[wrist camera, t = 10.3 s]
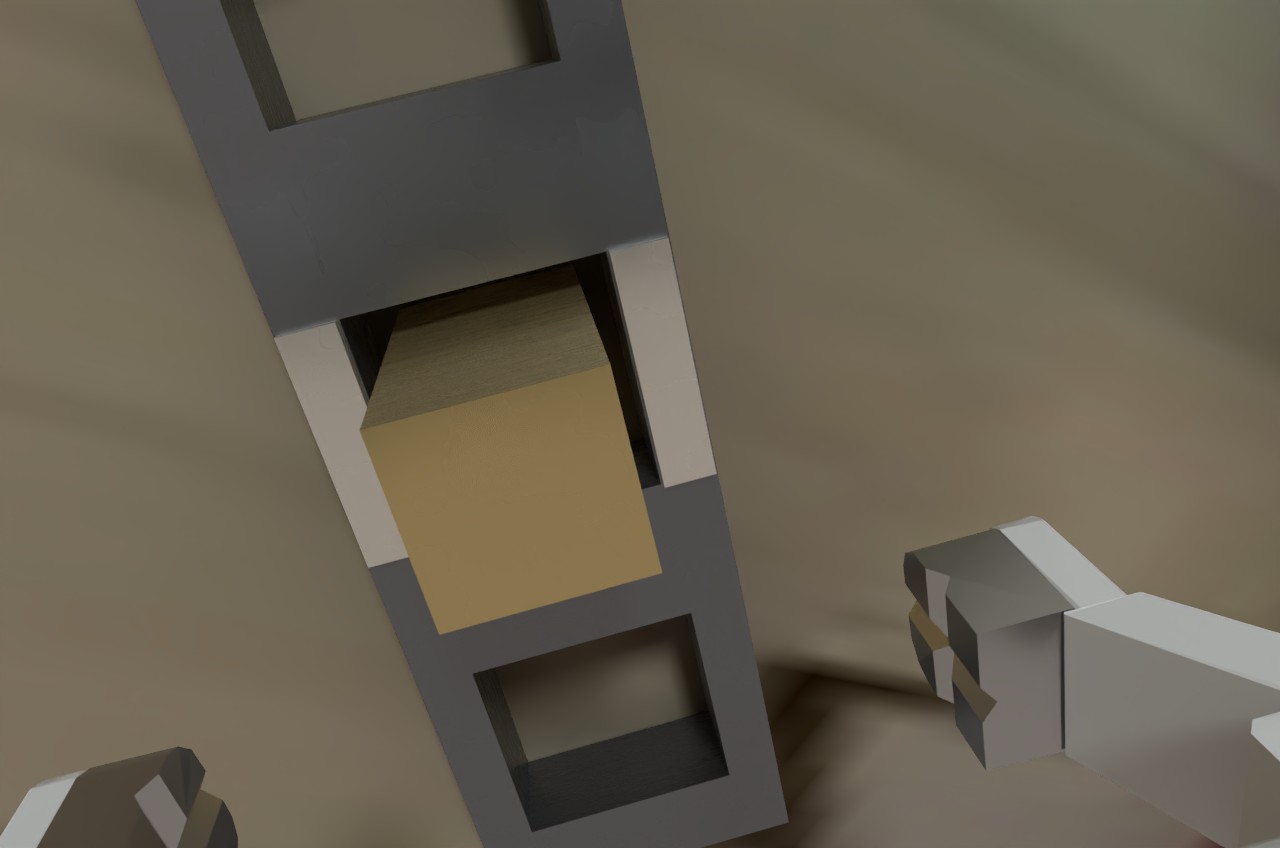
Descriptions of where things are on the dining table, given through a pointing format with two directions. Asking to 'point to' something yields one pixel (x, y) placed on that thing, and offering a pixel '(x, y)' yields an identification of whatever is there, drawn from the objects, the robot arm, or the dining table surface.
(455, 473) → the block
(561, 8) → the grey slotted tray
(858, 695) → the dining table surface
